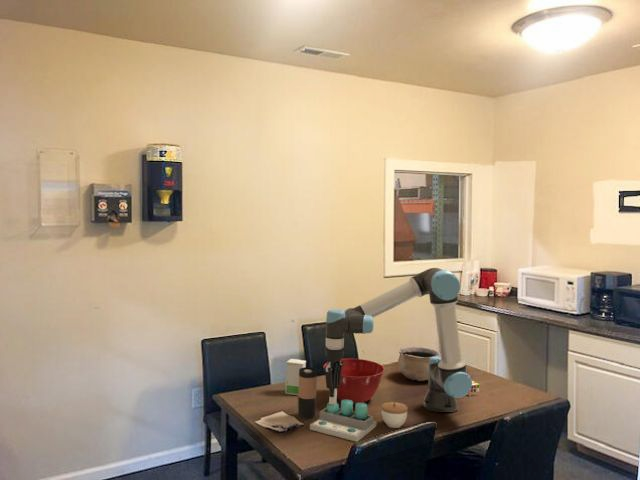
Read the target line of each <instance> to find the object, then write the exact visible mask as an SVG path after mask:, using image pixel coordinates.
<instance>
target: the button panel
mask: <svg viewBox="0 0 640 480" xmlns="http://www.w3.org/2000/svg"><path fill="white" fill-rule="evenodd" d="M376 427H377V420H375V416H374V415H370V414H367V418H366V419H357V418H355V411H353V414H352V415H350V416H344V415H342V414H341V407H339V411H338V413H337V414H333V413H329V412H327V406H326V407H324V408H323V409H321V410H320V411H319V418H318V419H317V420H315V421H313V422H311V423H310V424H309V430H310V431H315V432H318V433H322V434H325V435H329V436H334V437H337V438H341V439H343V440H348V441H352V442H355V443H358V442H359V441H360V440H362V438H365V436H366V435H367V434H369V433H370V432H371V431H372V430H373V429H375V428H376Z"/></svg>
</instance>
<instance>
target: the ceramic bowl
mask: <svg viewBox="0 0 640 480" xmlns="http://www.w3.org/2000/svg"><path fill="white" fill-rule="evenodd" d="M398 352H399V356H398V359H397V361H398V362H397V363H398V369H399V370H400V371H401V373H402V375H403V376H404V377H405V378H407V379H408V380H410V379H411V380H410V381H414V380H417V381H416V382H425V380H426V381H428V377H429V360H430V358H431V357H437V356H440V352H438V351H436V350H435V349H430V348H427V347H419V346H417V347H416V346H407V347H400V348H399V350H398Z"/></svg>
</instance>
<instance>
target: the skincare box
mask: <svg viewBox="0 0 640 480" xmlns="http://www.w3.org/2000/svg"><path fill="white" fill-rule="evenodd" d="M306 364H307V360H302V359H296V358H290V359H288V360H287V361H286V371H285V386H284V387H285V389H284V391H285V392H284V394H286V395H294V396H298V391H299V369H300V368H304V367H306V366H307V365H306Z"/></svg>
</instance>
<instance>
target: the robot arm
mask: <svg viewBox="0 0 640 480" xmlns="http://www.w3.org/2000/svg"><path fill="white" fill-rule="evenodd" d="M460 292H461V282H460V279H459V277H458V276H457V275H456V274H455V273H453V272H451V271H450V270H445V269H442V268H439V267H432V268H428V269H425V270H423V271H421V272H419V273H417V274H415V275H413V276H411V277H409V280H408V281H406V282H404V283H402V284H400V285H398V286H396V287H394V288H393V289H390V290H388V291H386V292H384V293H382V294H380V295H378V296H376V297H374V298H372V299H370V300H368V301H366V302H364V303H362V304H360V305H357V306H355V307H349V308H346V309H345V310H342V309H329V310H328V311H327V312H326V320H325V353H324V354H325V357H326V358H327V362H326V363H327V364H328V365H327V367H324V368H323V371H324V375H325V376H324V377H325V383H326V384H325V386H326V389H329V394H328V395H329V396H328V397H329V400H328V403H329V404H333V405H336V404H337V402H338V401H337V400H338V399H337V388H339V387H340V386H338V385H340V381H341V373H342V367H343V363H344V362H343V361H341V359H344V346H345V344H344V343H345V334H364V335H365V334H372V332H373V331H374V319H373V318H375V317H377V316H380V315H382V314H383V313H386V312H388V311H390V310H392V309H394V308H396V307H398V306H400V305H403V304H404V303H406V302H409V301H410V300H412V299H414V298H417V297H419V298H422V297H423V296H426V295H428V296H429V301H430V304H431V305H432V306H433V307H434V313H435V314H434V315H435V321H436V322H435V323H436V329H437V337H438V338H437V339H438V347H439V353H440V356H437V357H431V358H430V360H429V377H428V380H427V381H428V382H427V385H428V387H427V391H426V393H425V397H424V399H423V407H424V408H425V409H426V410H427V411H431V412H433V411H435V412H434V413H437V412H451V411H455V410H456V409H457V408H459V404H458V399H460V398H464V397H465V396H468V395H467V394H468V392H469V391H470V390H471V387H472V381H473V380H472V378H471V376H470V375H469V373H468V371H467V363H466V361H465V360H463V359H462V353H461V352H462V351H461V343H460V335H459V327H458V319H457V312H456V311H457V310H456V304H457V303H458V301H459V297H458V295H459V293H460ZM457 410H458V409H457ZM455 412H456V411H455Z"/></svg>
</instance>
